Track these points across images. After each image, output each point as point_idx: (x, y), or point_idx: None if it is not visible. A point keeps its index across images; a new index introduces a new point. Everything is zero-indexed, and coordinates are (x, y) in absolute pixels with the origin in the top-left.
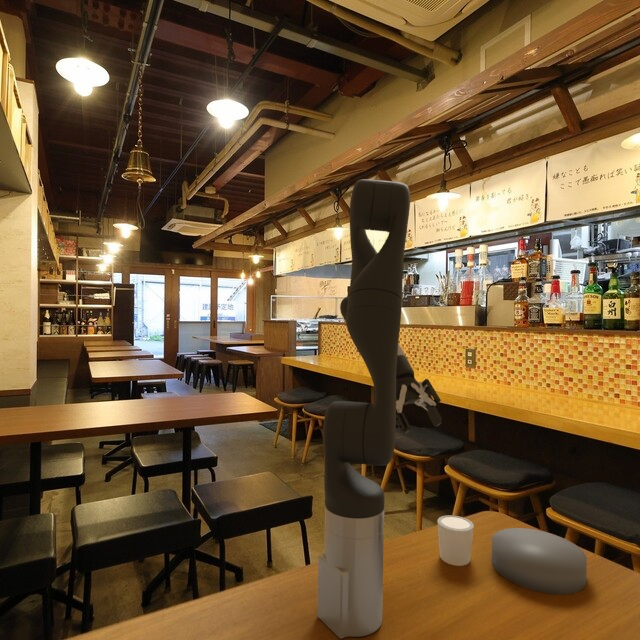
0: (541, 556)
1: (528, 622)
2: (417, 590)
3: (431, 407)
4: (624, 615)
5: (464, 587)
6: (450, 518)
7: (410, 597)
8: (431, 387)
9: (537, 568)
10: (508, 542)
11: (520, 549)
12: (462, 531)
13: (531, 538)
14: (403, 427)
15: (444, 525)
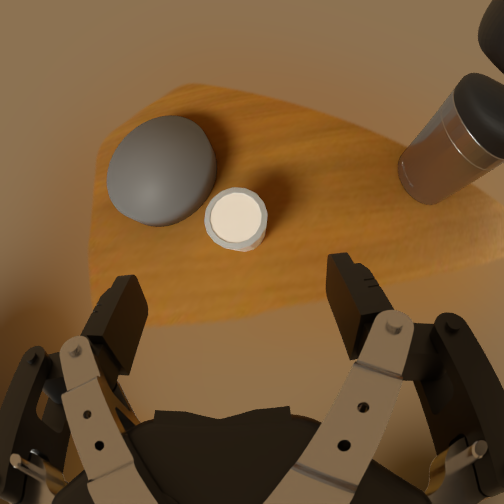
0: (169, 144)
1: (259, 107)
2: (341, 184)
3: (102, 345)
4: (167, 98)
5: (281, 169)
6: (231, 235)
7: (355, 177)
8: (1, 430)
9: (198, 126)
10: (175, 184)
11: (177, 164)
12: (245, 188)
13: (139, 185)
14: (364, 268)
15: (262, 213)
